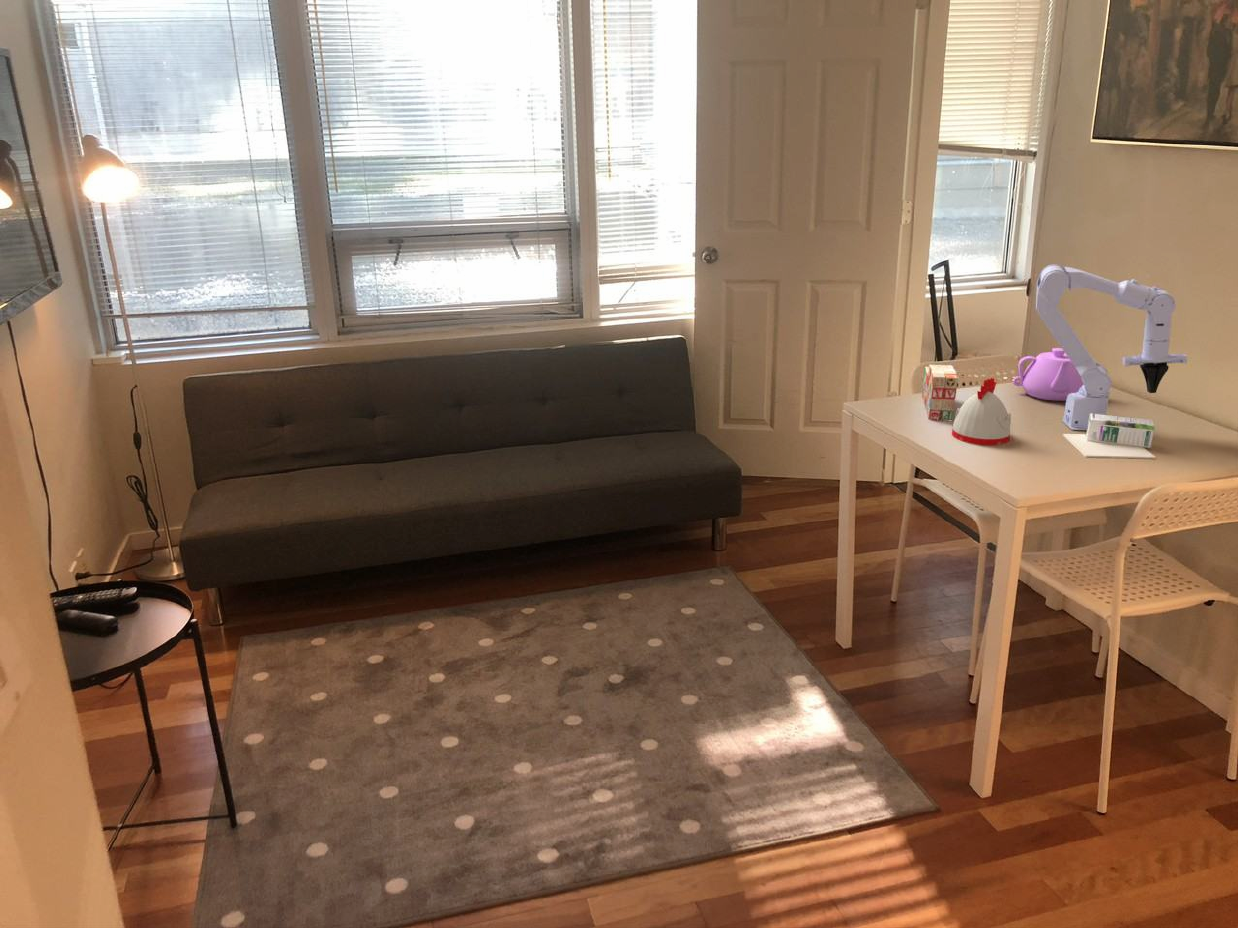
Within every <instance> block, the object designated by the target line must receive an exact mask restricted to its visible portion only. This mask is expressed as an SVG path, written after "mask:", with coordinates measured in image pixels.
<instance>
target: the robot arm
mask: <svg viewBox="0 0 1238 928" xmlns="http://www.w3.org/2000/svg"><path fill="white" fill-rule="evenodd" d="M1138 282H1139V281H1138V279H1134V278H1133V279H1131V280H1129V279H1127V280H1123V281H1121V282H1116V281H1113V280H1110V279H1108V278H1104V277H1102V276H1099V275H1096V274H1093V273H1090V272H1087V271H1086V270H1085V271H1084V270H1081V269H1079V268H1073V267H1069V266H1064V267H1063V266H1061V265H1059V264H1056V263H1055V264H1053V263H1052V264H1049V265H1047V266H1045V267H1044V268H1042V270H1041V272H1040V273H1039V276H1038V278H1037V280H1036V294H1035V295H1036V296H1035V310H1036V313H1037V315H1038V316H1039V317H1040V319H1041V320H1042V322H1043V323H1044V325H1045V326H1046V328H1047V329H1048V330H1049V331H1050V333H1051V334H1052V336H1053V338H1054V339H1055V340H1056V342H1057V343H1058V344H1059V346H1060V348H1062V349H1063V350H1064V352H1065V354H1067V356H1068V357H1069V359H1070V360H1071V362H1072V363H1073V364H1074V366H1075V367H1076V369H1077V371H1078V372H1079V374H1080V376H1081V379H1082V382H1083V383H1084V385H1083V386H1082V387H1081V388H1080V389H1079V392H1076V393H1070V394H1069V395H1068V397H1067V400H1066V401H1065V407H1064V412H1063V419H1061V421H1062V423H1064V424H1065V425H1066V426H1067V427H1068V428H1069V429H1071V430H1073V431H1087V426H1088V421H1089V416H1090V414H1100V415H1107V410H1108V404H1109V398H1110V394H1111V393H1110V390H1111V389H1112V385H1113V383H1112V379H1111V377H1110V376H1109V372H1108V370H1107V368H1106V367H1104V366H1103V365H1101V364H1099V363H1098V362H1097V361H1096V360H1095V358H1094V357H1093V356H1092V355H1091V353H1090V352H1089V351H1088V350H1087V348H1086V346H1085V345H1084V344H1083V342H1082V340H1080V338H1079V336H1078V335H1077V334H1076V332H1075V330H1074V329H1073V327H1071V325H1070V323H1069V322H1068V321H1067V319H1066V318H1065V316H1064V315H1063V314H1062V312H1061V310H1060V309H1059V308H1058V306H1059V303H1060V301H1061V297H1062V296H1063V295H1064V293H1065V292H1066V291H1067V289H1068V288H1069V291H1073V290H1075V289H1076V290H1077V289H1079V288H1084V289H1088V290H1092V291H1096V292H1100V293H1103V294H1107V295H1111V296H1113V297H1114V299H1115V302H1117V303H1118V304H1122V305H1125V306H1128V307H1130V308H1134V309H1138V310H1140V311H1146V310H1147V311H1146V319H1145V322H1144V331H1143V343H1142V344H1143V345H1142V353H1141V354H1139V355H1132V356H1126V357H1125V356H1124V357H1122V366H1124V367H1130V366H1139V368H1140V369H1141V372H1142V374H1143V376H1144V380H1145V385H1146V391H1147V393H1149V394H1156V393H1157V391H1158V388H1159V385H1160V383H1161V380H1162V379H1163V377H1164V376H1165V375H1166V373H1167V371H1168V370H1169V364H1187V363H1188V355H1186V354H1184V353H1182V354H1181V353H1179V354H1178V353H1169V350H1170V340H1171V332H1172V317H1173V312H1175V310H1176V307H1177V304H1176V301H1175V298H1174V297H1173V296H1172V295H1171V294H1170V293H1169V292H1168V291H1166V290H1164V289H1163V288H1158V287H1157V286H1152V287H1151V286H1147V285H1144V284H1142V283H1141V284H1140V283H1138Z"/></svg>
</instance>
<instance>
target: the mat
mask: <svg viewBox="0 0 1238 928" xmlns="http://www.w3.org/2000/svg"><path fill="white" fill-rule="evenodd" d="M1062 436H1063V437H1064V438H1065V439H1066V440H1067V441H1068V442H1069V443H1070V444H1072V446H1074V448H1075V449H1077V450H1078V451H1079V452H1080V453H1081V455H1082V456H1084V457H1085V458H1114V459H1117V458H1118V459H1148V460H1149V459H1156V456H1155V455H1154V454H1152V453H1151V452H1150V451H1149V450H1147V448H1146V447H1139V446H1131V445H1122V444H1113V443H1104V442H1095V441H1088V440H1086V433H1085V434H1084V433H1082V434H1081V433H1080V434H1079V433H1063V434H1062Z"/></svg>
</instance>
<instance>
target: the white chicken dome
mask: <svg viewBox="0 0 1238 928" xmlns="http://www.w3.org/2000/svg"><path fill="white" fill-rule="evenodd" d="M996 385H997V382H996V381H995V378H993V377H992V378H991V377H990V378H987V379H984V380H983V384H982V385H980V390H977V392H976V393H975V394H973V395H971V396H970V397H969V398H967V399H966V401H965V402H964V403H963V404H962V405H961V407H960V408H958V407H957V409H956V412H955V415H954V416H955V418H954V421H953V424H952V429H951V436H952V437H953V438H954V439H956V440H958V441H961V442H964V443H967V444H971V443H972V444H973V445H977V444H978V446H999V445H998V444H1000V445H1004V444H1006V443H1008V442H1009V441H1010V437H1011V423H1012V416H1011V415H1012V414H1011V413H1010V412H1009V413H1008V411H1007V409H1006V406H1005V404H1004V403H1003V401H1002V400H1001V399H1000V397H998V396H997V395H996V394H994V391H995V389H996ZM1003 443H1004V444H1003Z"/></svg>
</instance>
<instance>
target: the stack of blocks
mask: <svg viewBox="0 0 1238 928" xmlns="http://www.w3.org/2000/svg"><path fill="white" fill-rule="evenodd" d="M928 365H929V366H924V370H923V382H922V383H923V384H922V394H921V397H922V403H923V406H924V405H925V406H924V407H925V411H926V415H928V416H927V418H928V419H927V420H929V419H932V420H931V421H944V420H952V421H953V418H954V412H955V410H954V409H955V401H956V396H957V388H958V381H959V377H958V375H957V372H956V370H955V368H954V366H953V365H950V364H948V365H945V364H928ZM937 419H938V420H937Z"/></svg>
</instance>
